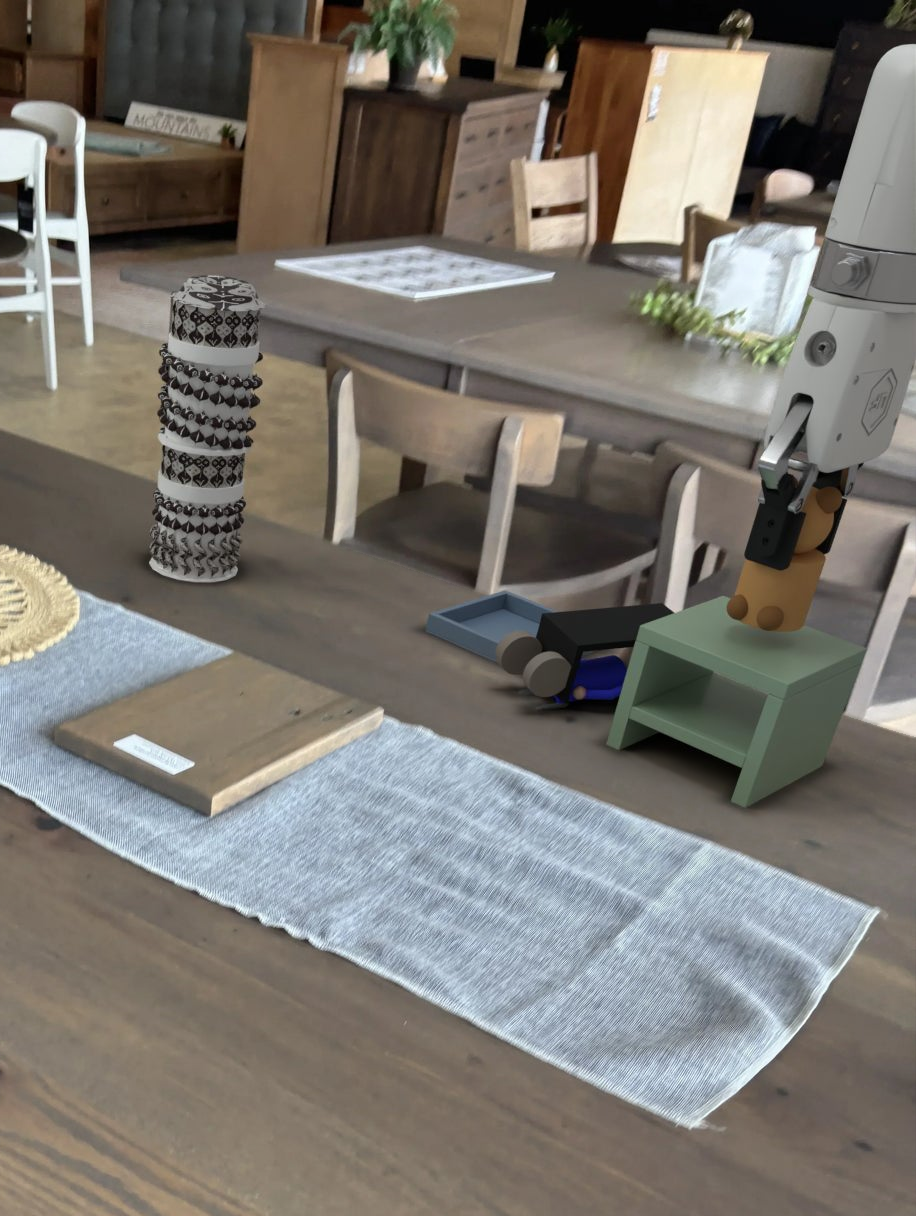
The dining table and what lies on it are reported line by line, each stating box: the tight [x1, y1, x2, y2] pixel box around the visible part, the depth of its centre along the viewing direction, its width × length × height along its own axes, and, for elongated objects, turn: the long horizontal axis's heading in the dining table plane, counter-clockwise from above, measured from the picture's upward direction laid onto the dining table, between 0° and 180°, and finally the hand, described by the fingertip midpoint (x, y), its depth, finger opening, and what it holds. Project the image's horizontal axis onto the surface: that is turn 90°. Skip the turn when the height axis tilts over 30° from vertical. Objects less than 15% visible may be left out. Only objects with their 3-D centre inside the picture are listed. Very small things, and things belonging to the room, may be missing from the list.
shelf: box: [605, 595, 868, 809], centre depth 107 cm, size 12×12×10 cm
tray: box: [425, 590, 599, 664], centre depth 125 cm, size 11×11×2 cm
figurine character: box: [495, 602, 675, 711], centre depth 114 cm, size 7×8×15 cm
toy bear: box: [727, 476, 843, 632], centre depth 100 cm, size 6×5×10 cm
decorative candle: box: [148, 274, 267, 583], centre depth 126 cm, size 9×9×25 cm
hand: (787, 554), depth 100 cm, fingers closed on toy bear, 5 cm apart
